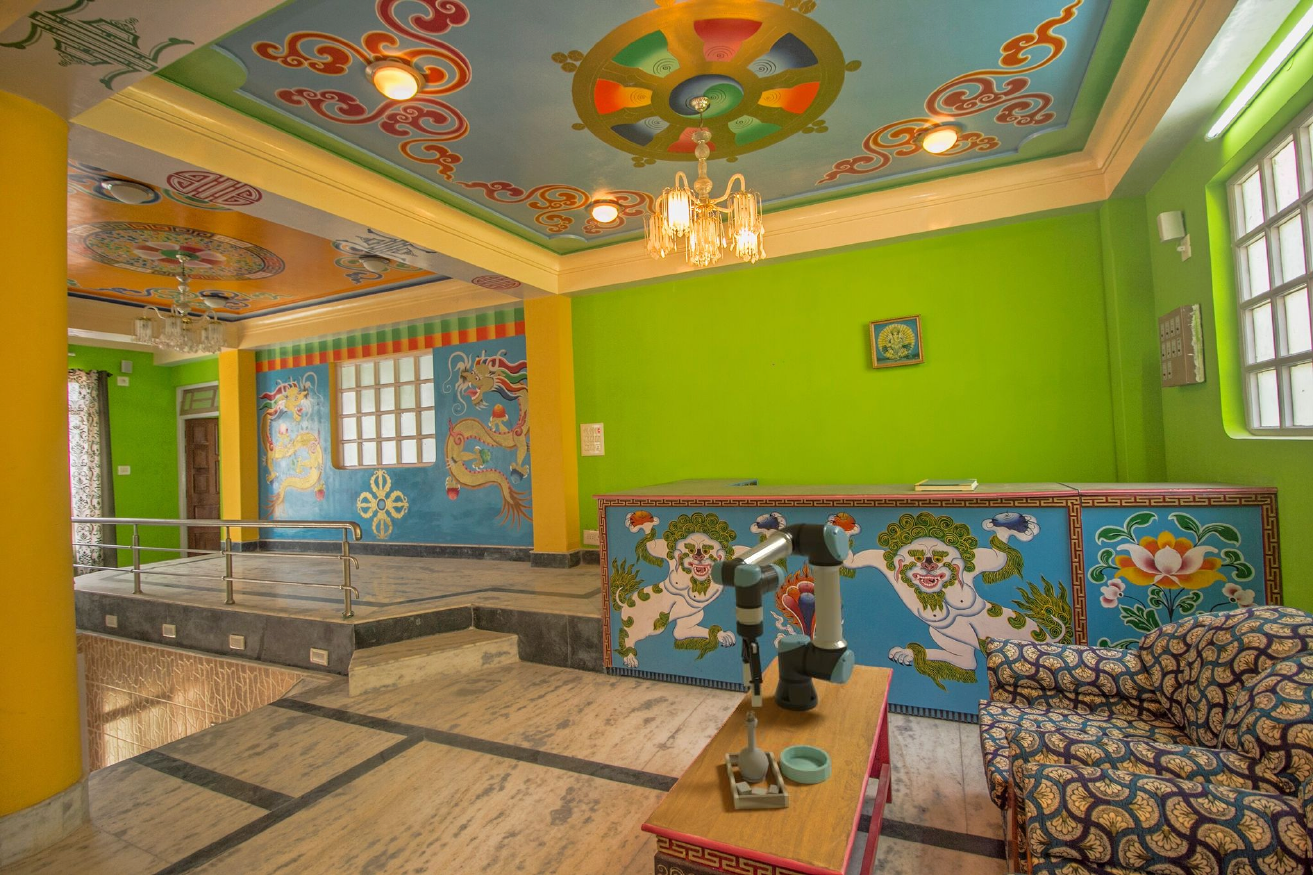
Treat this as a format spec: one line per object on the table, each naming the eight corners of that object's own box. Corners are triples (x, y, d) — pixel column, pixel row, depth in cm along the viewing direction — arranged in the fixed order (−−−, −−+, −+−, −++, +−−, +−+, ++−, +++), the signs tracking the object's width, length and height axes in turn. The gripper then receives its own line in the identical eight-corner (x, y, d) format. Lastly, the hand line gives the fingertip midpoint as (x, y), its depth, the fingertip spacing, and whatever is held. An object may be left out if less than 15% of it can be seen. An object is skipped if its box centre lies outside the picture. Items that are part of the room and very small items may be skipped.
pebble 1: (751, 801, 160) (751, 792, 160) (754, 795, 162) (754, 786, 162) (764, 804, 158) (764, 795, 158) (767, 798, 161) (766, 789, 161)
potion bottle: (770, 769, 174) (768, 707, 174) (766, 786, 166) (763, 721, 166) (740, 765, 177) (738, 704, 177) (734, 782, 169) (731, 718, 169)
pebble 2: (771, 792, 163) (770, 784, 163) (780, 794, 163) (780, 785, 163) (768, 799, 160) (768, 791, 160) (778, 801, 159) (777, 793, 159)
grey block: (735, 792, 164) (735, 783, 164) (745, 790, 165) (745, 781, 165) (741, 801, 160) (741, 791, 160) (752, 798, 161) (751, 789, 161)
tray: (725, 763, 178) (725, 753, 178) (772, 761, 178) (772, 751, 178) (735, 809, 156) (734, 797, 156) (789, 807, 156) (788, 795, 156)
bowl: (776, 757, 180) (776, 745, 180) (823, 755, 180) (822, 743, 180) (786, 784, 166) (786, 771, 166) (837, 782, 166) (836, 769, 166)
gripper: (730, 608, 184) (733, 678, 184) (743, 635, 159) (746, 716, 159) (754, 607, 184) (757, 677, 184) (771, 634, 159) (775, 714, 159)
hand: (752, 695), depth 171 cm, fingers open, 13 cm apart
